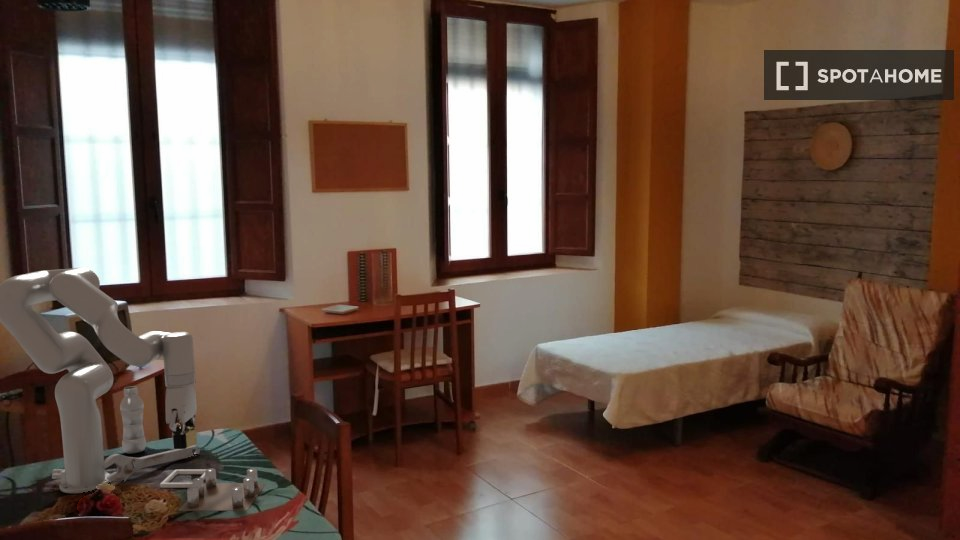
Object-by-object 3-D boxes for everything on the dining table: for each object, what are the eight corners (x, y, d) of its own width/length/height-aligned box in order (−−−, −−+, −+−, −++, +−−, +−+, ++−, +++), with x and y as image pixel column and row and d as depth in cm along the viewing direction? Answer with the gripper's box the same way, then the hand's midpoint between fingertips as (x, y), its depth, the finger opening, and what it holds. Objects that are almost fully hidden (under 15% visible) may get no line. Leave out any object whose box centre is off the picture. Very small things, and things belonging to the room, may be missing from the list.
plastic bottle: (130, 448, 232) (126, 384, 229) (151, 448, 231) (147, 385, 228) (117, 455, 225) (113, 390, 223) (138, 456, 225) (134, 391, 222)
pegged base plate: (182, 508, 187) (181, 491, 186) (204, 484, 201) (203, 468, 201) (245, 508, 186) (244, 491, 186) (262, 484, 201) (262, 468, 200)
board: (178, 514, 186) (177, 510, 186) (203, 486, 202) (203, 483, 202) (246, 514, 186) (246, 510, 186) (266, 486, 202) (266, 483, 202)
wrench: (199, 463, 227) (104, 487, 201) (195, 462, 228) (100, 486, 202) (200, 437, 226) (106, 457, 201) (196, 436, 227) (102, 456, 202)
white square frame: (160, 491, 200) (160, 483, 199) (175, 476, 209) (175, 469, 209) (197, 490, 200) (196, 483, 199) (210, 476, 209) (210, 469, 209)
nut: (168, 448, 200) (167, 433, 200) (177, 440, 206) (176, 426, 205) (193, 447, 200) (192, 433, 200) (201, 440, 206) (200, 426, 205)
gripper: (179, 370, 209) (184, 433, 212) (152, 388, 192) (157, 456, 195) (206, 370, 209) (210, 433, 212) (181, 387, 192) (186, 455, 195)
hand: (185, 443), depth 203 cm, fingers closed on nut, 5 cm apart
